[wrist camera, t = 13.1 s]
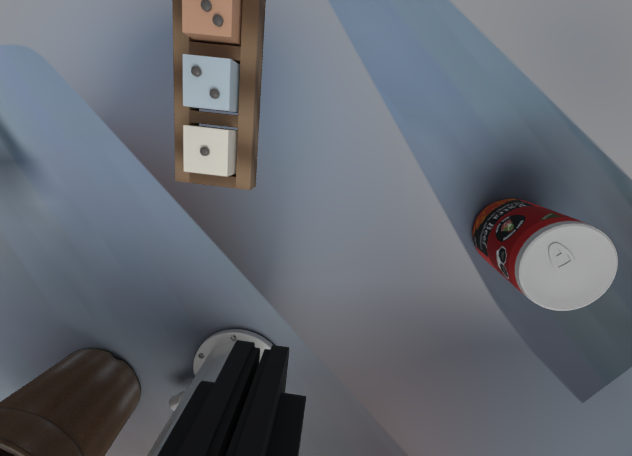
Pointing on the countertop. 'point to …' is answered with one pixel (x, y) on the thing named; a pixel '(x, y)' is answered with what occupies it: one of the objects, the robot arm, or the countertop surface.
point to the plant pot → (70, 407)
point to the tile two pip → (211, 83)
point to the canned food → (546, 253)
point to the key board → (248, 95)
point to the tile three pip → (213, 21)
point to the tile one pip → (209, 150)
